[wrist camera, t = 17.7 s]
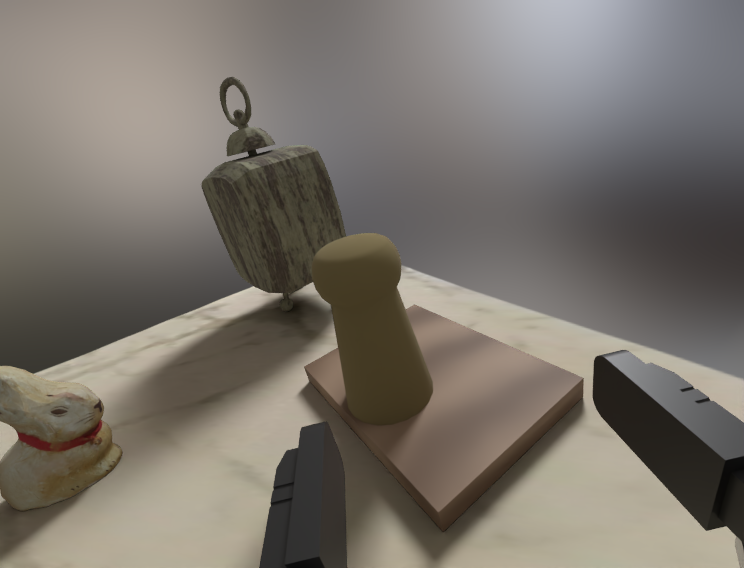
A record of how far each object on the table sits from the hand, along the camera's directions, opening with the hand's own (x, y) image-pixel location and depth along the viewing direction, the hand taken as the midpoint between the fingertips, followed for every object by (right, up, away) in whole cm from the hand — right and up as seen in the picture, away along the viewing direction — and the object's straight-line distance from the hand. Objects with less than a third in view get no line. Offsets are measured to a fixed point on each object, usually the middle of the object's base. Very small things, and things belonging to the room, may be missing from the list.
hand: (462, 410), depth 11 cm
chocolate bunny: (-25, -11, +16) cm, 31 cm away
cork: (-1, -4, +14) cm, 15 cm away
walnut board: (+1, -4, +15) cm, 16 cm away
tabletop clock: (-11, +1, +34) cm, 36 cm away
